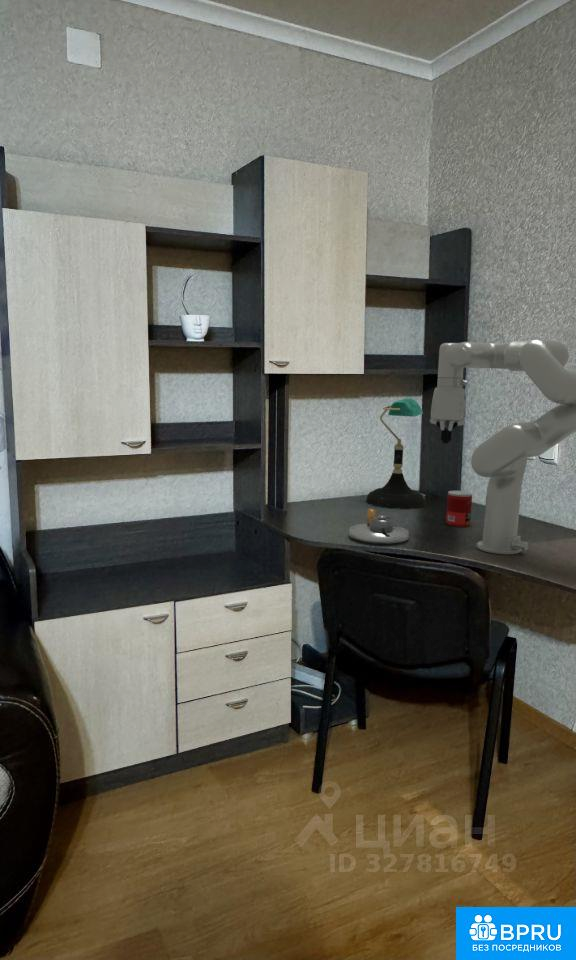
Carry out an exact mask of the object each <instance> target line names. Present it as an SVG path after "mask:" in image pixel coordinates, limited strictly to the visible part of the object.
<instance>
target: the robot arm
mask: <svg viewBox="0 0 576 960" xmlns="http://www.w3.org/2000/svg"><path fill="white" fill-rule="evenodd" d="M569 353H570V352H569V351H568V348H567V347H566V346H565V345H564V344H563V343H562V342H560V341H557V340H552V339H537V338H536V339H532V340H531V339H530V340H526V339H525V340H518V339H516V340H515V339H514V340H511V341H510V342H508V343H507V342H506V343H504V342H503V343H502V342H501V343H499V342H498V343H495V342H478V341H475V342H474V341H462V342H444V343H441V344H440V346H439V352H438V368H437V385H436V387H435V388H434V391H433V394H432V395H433V396H432V402H431V408H430V419H429V423H430V424H432V425H437V427H438V428H439V429H440V430H441V435H440V436H441V437H440V441H442V444H447V445H448V444H450V442H452V437H453V436H452V435H453V430H454V429H455V428H456V427H458V426H459V427H460V426H464V425H466V421H465V418H466V410H467V409H466V408H467V407H466V406H467V405H466V404H467V401H466V398H467V397H466V389H465V388H464V387H463V386H467V385H468V380H465V379H464V368H467V369H468V368H469V369H499V370H500V369H504V370H505V369H506V370H508V371H510V372H525V374H526V375H527V376H528V378H529V379H530V380H531V381H532V382H533V384H534V385H535V386H536V387H537V388H538V390H539V391H540V393H542V394H543V396H544V397H545V399H547V400H549V401H550V402H552V403H555V404H559V405H556V406H555V407H553V408H551V409H550V410H547V412H546V413H544V414H543V415H541V416H540V417H538V418H537V419H536V418H535V420H532V421H529V422H527V421H526V422H517V423H511V424H509V425H507V426H505V427H503V428H501V429H500V430H499V431H498V432H496V433H495V434H493V435H492V436H490V437H489V438H488V439H486V440H484V441H483V442H482V443H481V444H479V445H478V446H477V447H476V448H475V449H474V451H473V453H472V455H471V457H470V458H471V459H470V461H471V463H470V464H471V468H472V469H473V471H474V473H476V475H478V476H480V477H482V478H489V479H488V482H487V483H488V484H487V487H486V497H485V507H484V521H483V522H484V523H483V532H482V540H480V541H478V542H477V543H476V547H477V549H479V550H480V551H483V552H487V553H489V554H497V555H517V554H520V553H521V552H522V550H523V551H528V550H529V542H527V541H522V540H521V538H522V537H521V535H518V532H519V531H518V530H519V518H520V508H521V507H520V505H521V495H522V485H523V480H524V476H525V472H526V468H527V465H528V458H532V457H533V458H534V457H539V456H542V455H543V454H544V453H546V452H548V450H550V449H551V448H553V447H555V446H556V445H557V444H560V443H561V442H562V441H563V440H565V439H566V438H568V437H569V436H571V435H572V434H574V433H575V432H576V370H567V369H566V368H565V366H566V365H567V363H568V361H569V357H570V354H569ZM447 421H448V422H449V424H448V428H447V427H446V425H447V424H446V422H447Z"/></svg>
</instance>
